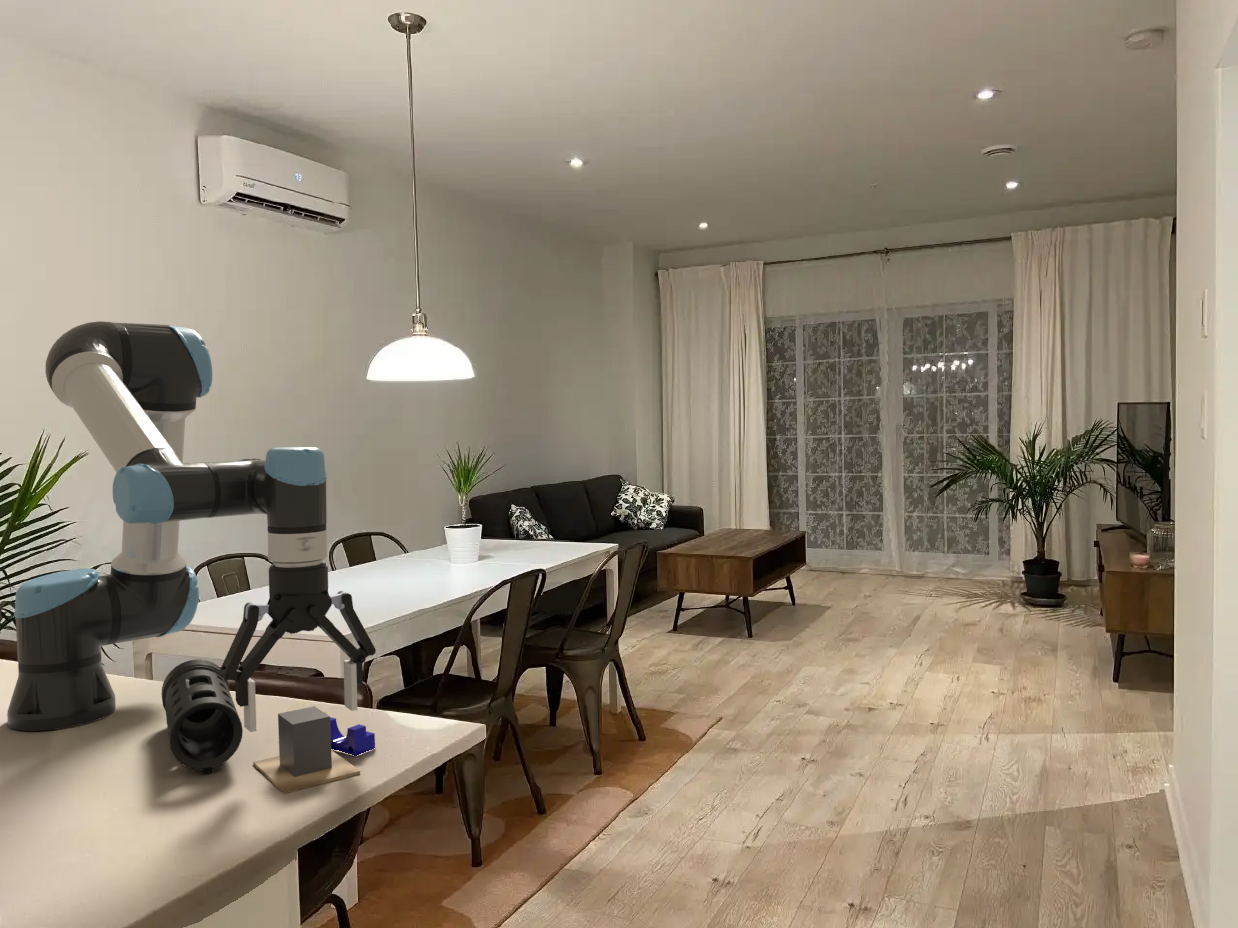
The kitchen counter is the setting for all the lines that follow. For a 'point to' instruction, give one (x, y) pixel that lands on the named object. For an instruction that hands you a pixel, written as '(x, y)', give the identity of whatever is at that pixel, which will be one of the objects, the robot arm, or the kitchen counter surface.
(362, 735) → the cable holder
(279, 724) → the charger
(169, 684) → the muzzle brake
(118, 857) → the kitchen counter surface
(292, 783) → the mat
